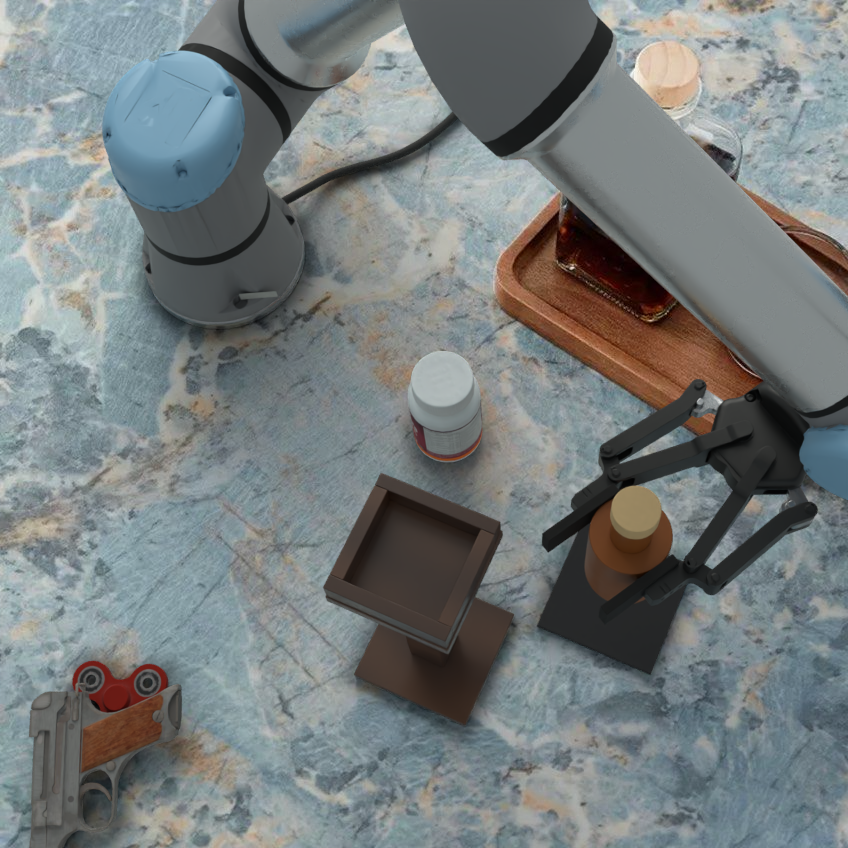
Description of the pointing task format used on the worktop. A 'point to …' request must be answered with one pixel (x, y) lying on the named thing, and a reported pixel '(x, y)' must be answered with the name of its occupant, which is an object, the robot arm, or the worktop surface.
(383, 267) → the worktop surface
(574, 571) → the mat
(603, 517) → the bottle
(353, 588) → the holder
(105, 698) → the fidget spinner
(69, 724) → the pistol
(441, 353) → the pill bottle
